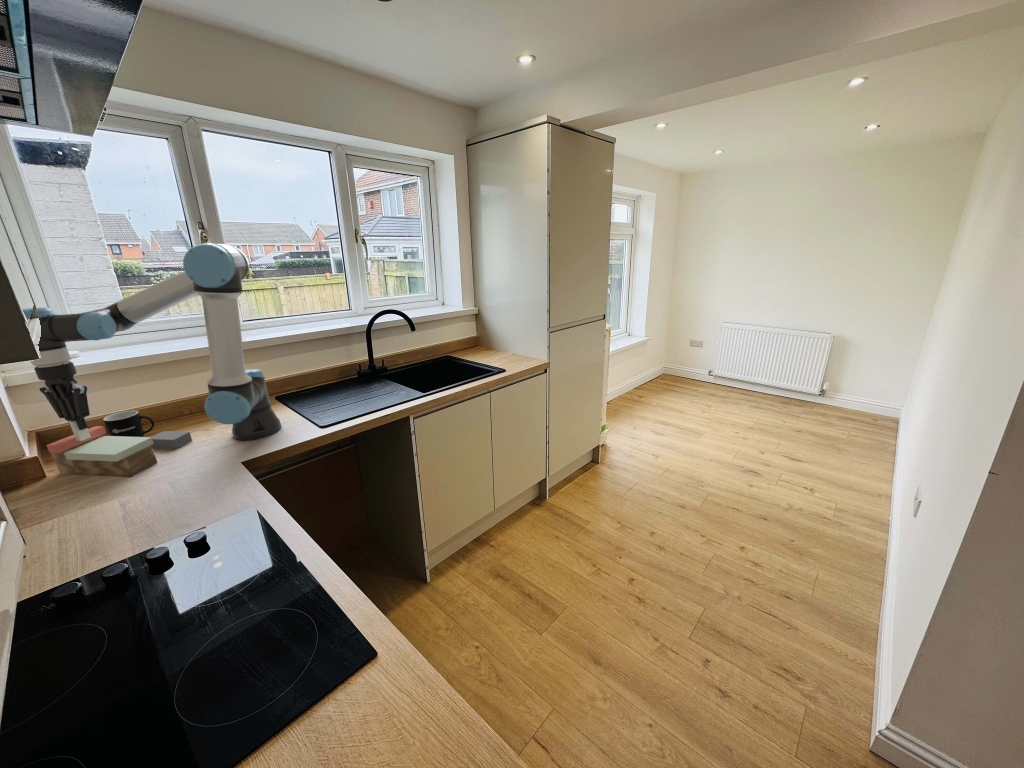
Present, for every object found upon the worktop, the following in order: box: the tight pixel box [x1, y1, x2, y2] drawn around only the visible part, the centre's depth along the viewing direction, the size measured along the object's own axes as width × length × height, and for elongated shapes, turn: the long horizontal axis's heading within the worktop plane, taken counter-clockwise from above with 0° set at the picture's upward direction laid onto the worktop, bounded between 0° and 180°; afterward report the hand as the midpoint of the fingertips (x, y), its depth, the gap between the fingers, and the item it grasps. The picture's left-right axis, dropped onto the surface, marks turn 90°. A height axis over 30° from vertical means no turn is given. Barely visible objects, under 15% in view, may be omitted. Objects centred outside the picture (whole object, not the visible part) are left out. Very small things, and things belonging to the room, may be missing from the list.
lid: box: [64, 435, 154, 461], centre depth 121 cm, size 17×11×2 cm, turn 83°
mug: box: [102, 410, 155, 437], centre depth 140 cm, size 12×9×10 cm
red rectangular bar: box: [46, 425, 108, 454], centre depth 121 cm, size 3×13×2 cm, turn 173°
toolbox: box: [50, 437, 158, 478], centre depth 122 cm, size 24×8×8 cm, turn 83°
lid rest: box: [150, 430, 193, 450], centre depth 137 cm, size 10×6×4 cm, turn 83°
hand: (83, 438), depth 121 cm, fingers closed
